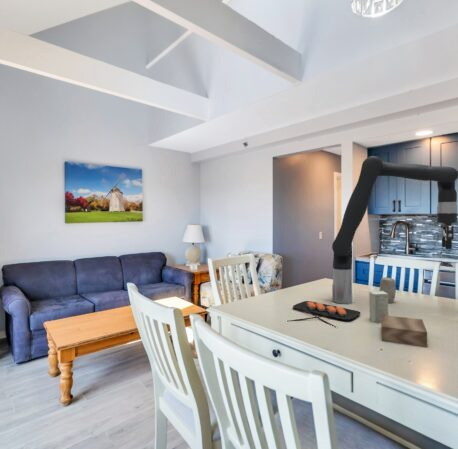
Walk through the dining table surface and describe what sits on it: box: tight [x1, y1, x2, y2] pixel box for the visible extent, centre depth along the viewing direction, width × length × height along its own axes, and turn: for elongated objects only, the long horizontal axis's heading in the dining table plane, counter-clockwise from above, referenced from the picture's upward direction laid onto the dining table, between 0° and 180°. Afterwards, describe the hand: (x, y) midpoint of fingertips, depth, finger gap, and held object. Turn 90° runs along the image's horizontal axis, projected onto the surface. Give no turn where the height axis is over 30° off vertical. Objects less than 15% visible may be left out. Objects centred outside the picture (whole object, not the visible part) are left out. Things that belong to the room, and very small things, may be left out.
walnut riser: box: [380, 315, 428, 347], centre depth 117 cm, size 14×14×5 cm
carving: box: [379, 277, 397, 304], centre depth 161 cm, size 6×8×12 cm
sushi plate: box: [288, 300, 362, 328], centre depth 141 cm, size 29×30×4 cm
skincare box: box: [368, 290, 389, 323], centre depth 134 cm, size 6×4×12 cm
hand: (446, 248), depth 143 cm, fingers open, 8 cm apart
